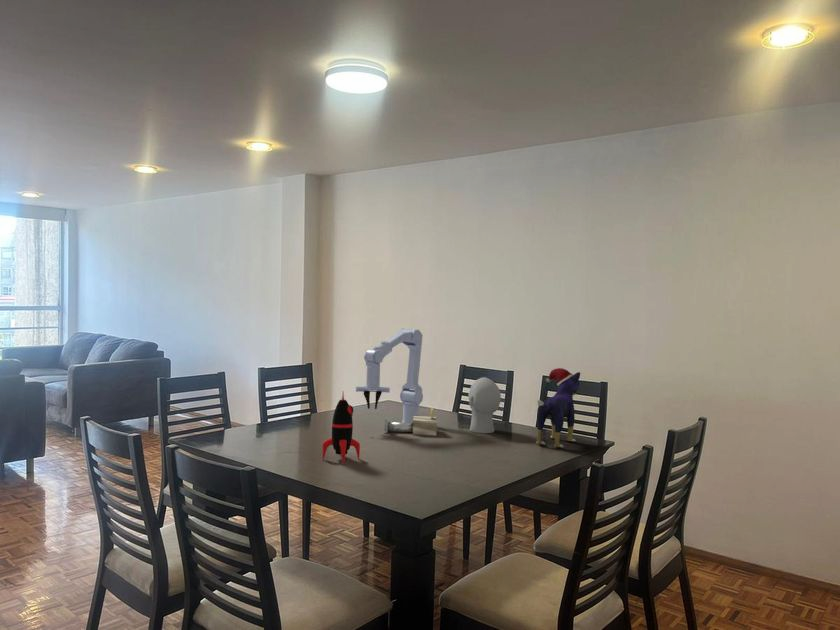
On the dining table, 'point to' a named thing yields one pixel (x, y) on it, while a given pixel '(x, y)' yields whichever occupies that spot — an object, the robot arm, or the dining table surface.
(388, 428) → the silver metal piece
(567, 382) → the toy
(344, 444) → the toy rocket
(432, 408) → the keeper flap
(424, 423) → the block
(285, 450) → the dining table surface
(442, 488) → the dining table surface
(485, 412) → the head
